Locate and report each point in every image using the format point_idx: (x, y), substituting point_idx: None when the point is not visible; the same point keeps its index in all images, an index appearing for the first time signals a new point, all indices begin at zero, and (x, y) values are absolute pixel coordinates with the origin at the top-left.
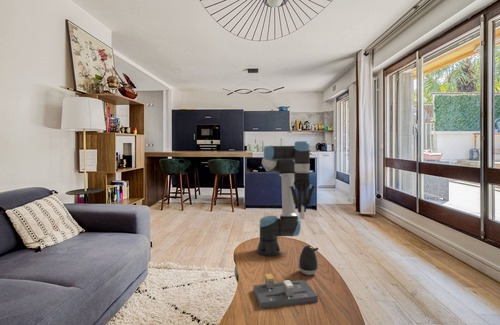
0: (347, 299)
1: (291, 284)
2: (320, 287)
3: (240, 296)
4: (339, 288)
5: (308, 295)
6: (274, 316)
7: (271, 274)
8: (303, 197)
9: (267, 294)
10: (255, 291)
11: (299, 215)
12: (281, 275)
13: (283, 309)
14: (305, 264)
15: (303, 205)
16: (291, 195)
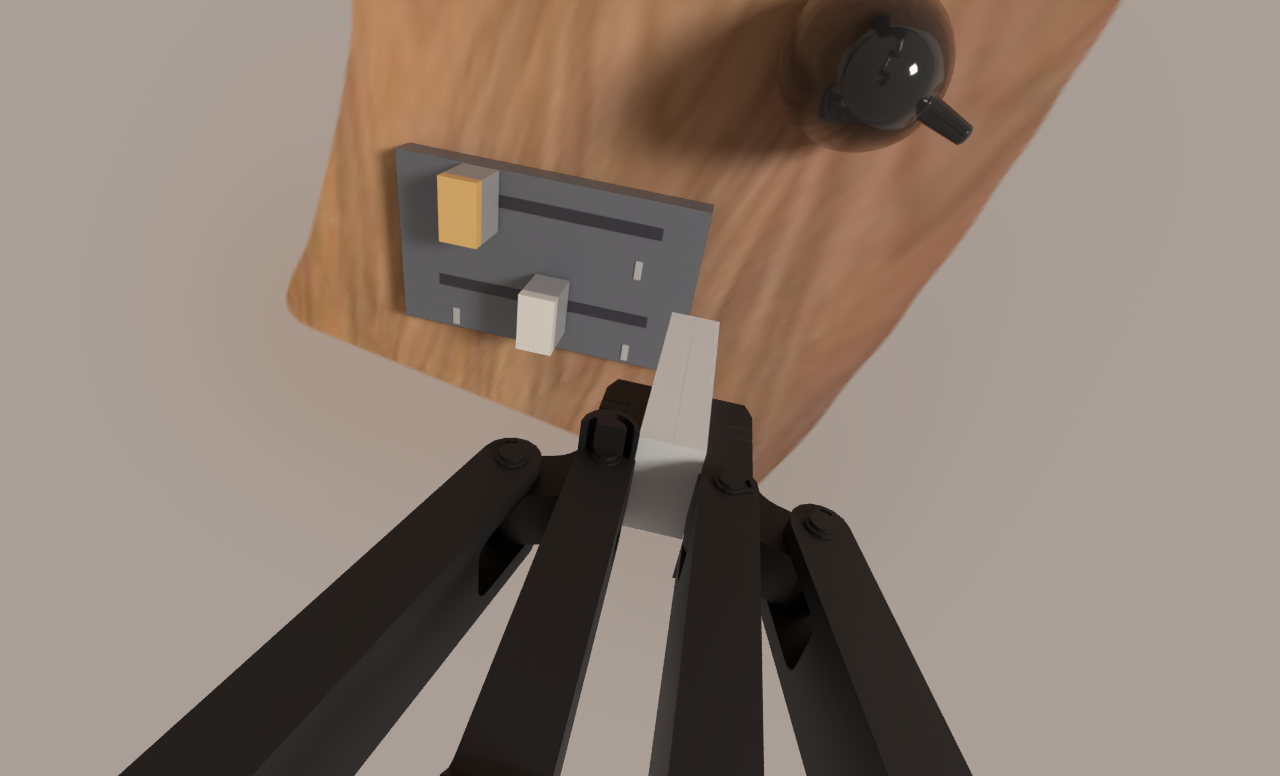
0: (816, 402)
1: (544, 345)
2: (780, 267)
3: (338, 174)
4: (869, 317)
5: (636, 353)
6: (460, 367)
7: (475, 197)
8: (662, 693)
9: (451, 267)
10: (401, 206)
11: (666, 334)
12: (641, 15)
13: (509, 346)
14: (796, 121)
15: (686, 520)
16: None
